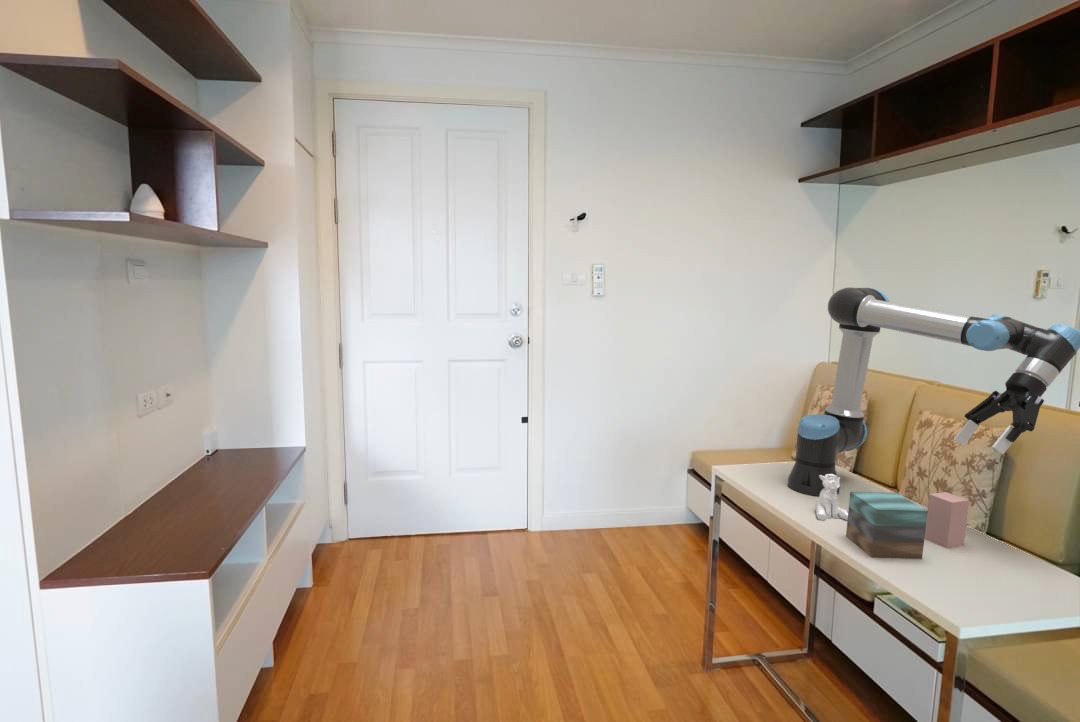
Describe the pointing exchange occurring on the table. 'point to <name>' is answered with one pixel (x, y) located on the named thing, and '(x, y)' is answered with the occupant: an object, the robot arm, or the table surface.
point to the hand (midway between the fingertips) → (976, 446)
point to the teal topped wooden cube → (886, 525)
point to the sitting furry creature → (829, 499)
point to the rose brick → (946, 519)
